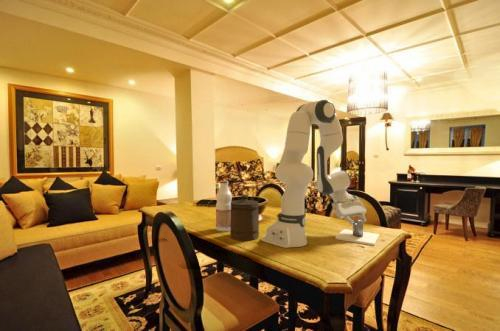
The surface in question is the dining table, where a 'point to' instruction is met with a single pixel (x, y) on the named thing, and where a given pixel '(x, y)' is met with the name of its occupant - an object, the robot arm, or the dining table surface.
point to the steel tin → (358, 228)
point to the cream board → (366, 239)
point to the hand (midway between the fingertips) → (359, 222)
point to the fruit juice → (223, 207)
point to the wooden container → (244, 219)
